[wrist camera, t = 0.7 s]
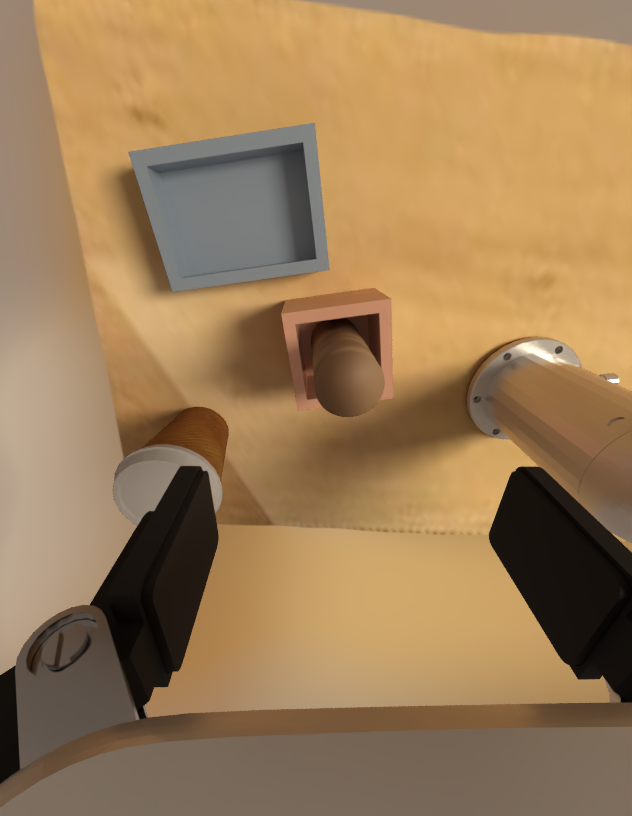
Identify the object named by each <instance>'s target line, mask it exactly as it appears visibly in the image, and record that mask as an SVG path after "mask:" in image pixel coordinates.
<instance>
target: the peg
mask: <svg viewBox="0 0 632 816" xmlns="http://www.w3.org/2000/svg"><path fill="white" fill-rule="evenodd" d="M311 347H312V361H313V374H314V388H315V394H316V397H317V399H318V401H319V403H320V404H321V406H322V407H323V408H324V409H326V410H327V411H328V412H330V413H332V414H334V415H337V416H342V417H353V416H358V415H361V414H363V413H365V412H367V411H369V410H370V409H371V408H373V407H374V406H375V405H376V404H377V402H378V401H379V400H380V398H381V396H382V394H383V391H384V386H385V379H384V374H383V371H382V369H381V367H380V365H379V364H378V362H377V361H376V359H375V357H374V356H373V354H372V353H371V351H370V349H369V348H368V346H367V344H366V343H365V341H364V340H363V338H362V336H361V335H360V333H359V332H358V330H357V328H356V327H355V325H354V324H353V323H352V322H351V321H350V320H348V319H346V318H338V319H331V320H324V321H321V322H319V323H318V324H317V326H316V327H315V328H314V330H313V333H312V337H311Z"/></svg>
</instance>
